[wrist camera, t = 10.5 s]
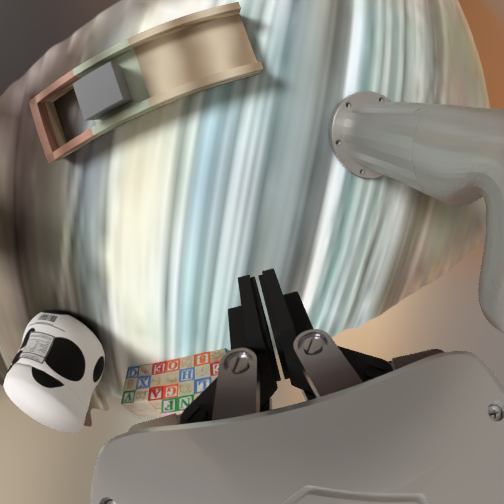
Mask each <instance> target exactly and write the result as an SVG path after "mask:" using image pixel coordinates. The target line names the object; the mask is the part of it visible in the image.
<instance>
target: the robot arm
mask: <svg viewBox="0 0 504 504" xmlns="http://www.w3.org/2000/svg"><path fill="white" fill-rule="evenodd" d="M346 104H347V107H346ZM329 131H330V142H331V146H332V149H333V152H334V154H335V156H336V157H337V159H338V161H339V162H340V163H341V164H342V165H343V167H344V168H346V169H347V170H348V171H350V172H351V173H353V174H355V175H357V176H360V177H363V178H378V177H381V176H384V175H385V176H388V177H390V178H392V179H394V180H397V181H399V182H401V183H403V184H405V185H408V186H410V187H412V188H414V189H416V190H418V191H420V192H422V193H424V194H426V195H428V196H430V197H432V198H434V199H436V200H438V201H440V202H443V203H445V204H448V205H452V206H462V205H467V204H470V203H472V202H474V201H476V200H478V199H479V198H481V197H482V196H483V197H484V199H485V203H486V236H485V245H484V252H483V259H482V265H481V271H480V278H479V290H478V292H479V302H480V306H481V309H482V312H483V314H484V316H485V317H486V319H487V320H488V322H490V324H491V325H492V326H494V327H495V328H496V329H498V330H499V331H500V332H503V333H504V109H485V108H472V107H462V106H453V105H442V104H441V105H440V104H427V103H407V102H391V101H390V100H389V99H388V98H386V97H385V96H383V95H381V94H378V93H375V92H370V91H368V92H357V93H354V94H351V95H349V96H347V97H346V98H345V99H343V100H342V101H341V102H340V103H339V104H338V106H337V107H336V109H335V111H334V112H333V115H332V118H331V122H330V128H329ZM336 141H337V144H336ZM360 170H361V171H360ZM262 273H263V275H259V280H260V284H261V288H262V292H263V296H264V300H265V304H266V308H267V312H268V316H269V320H270V323H271V327H272V331H273V335H274V339H275V343H276V347H277V351H278V355H279V358H280V362H281V366H282V370H283V374H284V377H285V379H288V378H290V380H291V384H292V385H293V386H295V387H297V388H300V389H301V390H302V393H303V395H304V397H305V399H306V401H305V402H301V403H298V404H294V405H290V406H286V407H282V408H277V409H273V410H272V399H271V396H272V395H273V394H274V392H275V391H276V390H277V383H276V381H280V380H281V378H280V374H279V370H278V366H277V362H276V358H275V354H274V350H273V345H272V341H271V337H270V333H269V329H268V325H267V321H266V317H265V313H264V310H263V306H262V302H261V298H260V295H259V291H258V287H257V283H256V280H255V277H251V278H250V275H246V276H242V277H238V283H239V290H240V298H241V305H242V306H238V307H234V308H230V309H228V317H229V330H230V342H231V351H228V352H227V353H226V354H225V355H224V356H223V357H222V358H221V361H220V364H219V370H218V377H217V378H216V379H215V380H214V381H213V382H212V383H211V384H210V385H209V386H208V387H207V388H206V389H205V390H204V391H203V392H202V393H201V394H200V395H199V396H198V397H197V398H196V399H195V400H194V401H193V402H192V403H190V404H189V405H188V406H187V407H186V408H185V410H184V411H183V412H182V414H179V415H177V414H176V413H174V414H171V415H167V416H164V417H160V418H157V419H154V420H150V421H146V422H142V423H138V424H136V425H134V426H132V427H131V428H130V429H129V431H128V432H126V433H124V434H121V435H119V436H116V437H114V438H112V439H111V440H109V441H108V442H107V443H105V445H104V446H103V447H102V448H101V450H100V452H99V455H98V457H97V461H96V464H95V468H94V473H93V480H92V487H91V496H90V504H504V386H503V384H502V383H501V382H500V380H499V379H498V378H497V376H496V375H495V374H494V372H493V371H492V370H491V369H490V368H489V367H488V366H487V364H486V363H485V362H484V361H483V360H481V359H480V358H479V357H478V356H476V355H475V354H472V353H471V352H466V351H453V352H444V351H442V350H439V349H431V350H427V351H423V352H419V353H414V354H410V355H405V356H400V357H396V358H393V359H392V361H388V362H387V361H385V360H383V359H380V358H376V357H373V356H370V355H366V354H362V353H359V352H356V351H353V350H349V349H346V348H342V347H339V346H337V345H336V344H335V342H334V341H333V340H332V338H331V337H330V335H328V334H327V333H326V332H324V331H322V330H318V329H313V327H312V325H311V322H310V320H309V317H308V315H307V313H306V310H305V308H304V306H303V303H302V301H301V299H300V296H299V294H298V292H297V291H296V292H293V293H289V294H285V295H283V294H282V291H281V288H280V285H279V282H278V279H277V277H276V274H275V271H274V269H270V270H266V271H262Z"/></svg>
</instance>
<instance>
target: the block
mask: <svg viewBox="0 0 504 504" xmlns="http://www.w3.org/2000/svg"><path fill="white" fill-rule="evenodd" d="M73 87H74V90H75V93H76V96H77V100H78V103H79V106H80V109H81V112H82V115H83V117H84V120H98V119H100V118H102V117H104V116H105V115H107V114H109V113H111V112H113V111H115V110H116V109H118V108H120V107H122V106H124V105H126V104H128V103H130V102H132V101H133V98H132V96H131V93H130V90H129V87H128V84H127V81H126V78H125V75H124V72H123V69H122V67H121V66H119V65H117V64H115V63H113V62H111V61H110V62H108V63H106V64H104V65H103V66H101V67H99V68H97V69H96V70H94V71H92V72H91V73H89V74H87V75H86V76H84V77H82V78H81V79H79V80H78V81H76V82H75V83H73Z"/></svg>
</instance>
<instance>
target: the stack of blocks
mask: <svg viewBox="0 0 504 504" xmlns="http://www.w3.org/2000/svg"><path fill="white" fill-rule="evenodd" d="M226 353H227V351H226V349H225V348H224V349H220V350H216V351H211V352H205V353H201V354H196V355H192V356H187V357H182V358H179V359H175V360H169V361H165V362H160V363H155V364H148V365H142V366H136V367H130V368H128V371H127V375H126V380H125V383H124V388H123V391H124V392H123V396H122V402H121V404H122V405H123V406H124V407H125V408H126V409H127V410H129V411H130V412H131V413H132V414H133V415H135V416H136V417H137V418H138V419H141V418H154V417H164V416H167V415H171V414H174V413H176V414H177V415H179V414H182V412H183V411H184V410H185V408H186V407H187V406H188V405H189V404H190V403H192V402H193V401H194V400H195V399H196V398H197V397H198V396H199V395H200V394H201V393H202V392H203V391H204V390H205V389H206V388H207V387H208V386H209V385H210V384H211V383H212V382H213V381H214V380H215V379H216V378H217V377H218V370H219V364H220V361H221V358H222V357H223V356H224V355H225V354H226Z"/></svg>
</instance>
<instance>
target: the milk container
mask: <svg viewBox="0 0 504 504" xmlns="http://www.w3.org/2000/svg"><path fill="white" fill-rule="evenodd" d="M104 365H105V354H104V350H103V347H102V344H101V342H100V341H99V339H98V338H97V336H96V335H95V334H94V333H93V332H92V330H90V329H89V328H88V327H87V326H86V325H85V324H84V323H83V322H81V321H79V320H78V319H76V318H75V317H73V316H71V315H69V314H66V313H64V312H61V311H56V310H46V311H43V312H41V313H39V314H37V315H36V316H35V317H34V318H33V319H32V320H31V321H30V322H29V324H28V325H27V327H26V329H25V332H24V335H23V339H22V344H21V347H20V349H19V351H18V353H17V354H16V356H15V358H14V359H13V361H12V363H11V366H10V368H9V370H8V372H7V375H6V378H5V381H4V385H3V386H4V389H5V391H6V394H7V395H8V396H9V398H10V399H11V400H12V402H14V403H15V404H16V405H17V406H18V407H19V408H20V409H21V410H22V411H23V412H25V413H26V414H27V415H29V416H30V417H31V418H33V419H35V420H36V421H38V422H40V423H42V424H43V425H45V426H48V427H50V428H53V429H55V430H58V431H62V432H66V433H77V432H79V431H81V429H82V427H83V425H84V422H85V418H86V413H87V411H88V408H89V403H90V399H91V395H92V392H93V390H94V388H95V387H96V385H97V384H98V383H99V381H100V379H101V377H102V375H103V371H104Z"/></svg>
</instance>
